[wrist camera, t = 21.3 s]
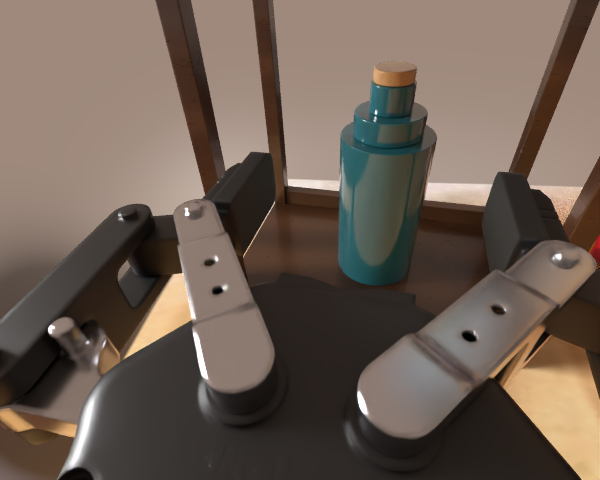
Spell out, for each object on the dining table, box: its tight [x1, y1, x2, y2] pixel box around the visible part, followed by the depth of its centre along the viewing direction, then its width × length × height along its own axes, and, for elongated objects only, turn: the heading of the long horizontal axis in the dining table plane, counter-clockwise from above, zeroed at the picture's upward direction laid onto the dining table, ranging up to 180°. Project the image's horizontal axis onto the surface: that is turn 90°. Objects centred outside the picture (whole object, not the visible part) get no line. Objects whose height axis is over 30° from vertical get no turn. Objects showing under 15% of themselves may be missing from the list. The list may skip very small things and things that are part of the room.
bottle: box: [338, 61, 437, 286], centre depth 25 cm, size 6×6×15 cm
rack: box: [155, 0, 600, 316], centre depth 25 cm, size 13×22×25 cm, turn 75°
